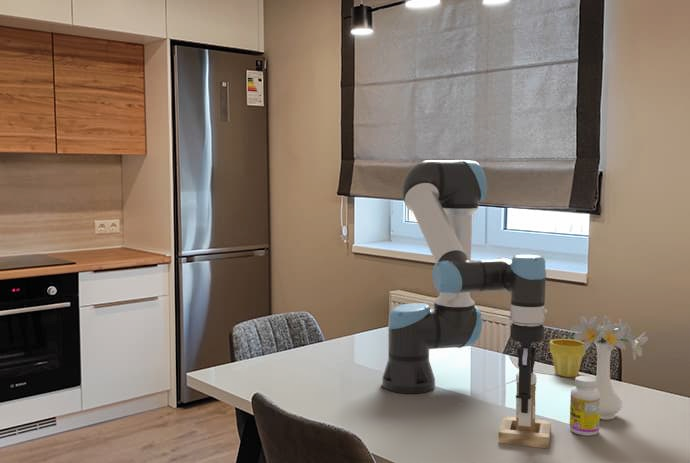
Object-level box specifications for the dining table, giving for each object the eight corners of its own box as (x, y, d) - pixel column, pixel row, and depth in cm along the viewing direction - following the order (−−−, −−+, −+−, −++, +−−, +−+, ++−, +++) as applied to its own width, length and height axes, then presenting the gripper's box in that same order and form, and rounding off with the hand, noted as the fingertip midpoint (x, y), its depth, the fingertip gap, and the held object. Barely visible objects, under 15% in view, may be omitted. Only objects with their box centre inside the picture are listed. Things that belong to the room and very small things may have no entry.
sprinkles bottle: (539, 431, 164) (540, 374, 163) (525, 435, 161) (527, 378, 160) (524, 426, 168) (525, 370, 167) (510, 429, 165) (511, 373, 164)
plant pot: (580, 369, 220) (581, 338, 220) (588, 379, 210) (589, 347, 209) (546, 368, 222) (547, 338, 221) (552, 378, 211) (553, 346, 210)
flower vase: (640, 430, 168) (643, 327, 166) (561, 417, 178) (563, 318, 176) (648, 414, 180) (651, 317, 177) (573, 402, 189) (576, 310, 187)
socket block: (498, 442, 161) (498, 431, 161) (503, 426, 172) (503, 416, 171) (548, 448, 158) (548, 437, 157) (550, 431, 168) (551, 421, 168)
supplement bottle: (565, 426, 171) (566, 374, 170) (591, 426, 172) (593, 374, 171) (576, 437, 164) (577, 383, 163) (604, 436, 165) (605, 382, 164)
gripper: (542, 332, 153) (539, 437, 155) (546, 316, 169) (544, 411, 171) (506, 329, 155) (504, 433, 157) (514, 314, 172) (512, 408, 174)
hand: (525, 421), depth 164 cm, fingers closed on sprinkles bottle, 4 cm apart
